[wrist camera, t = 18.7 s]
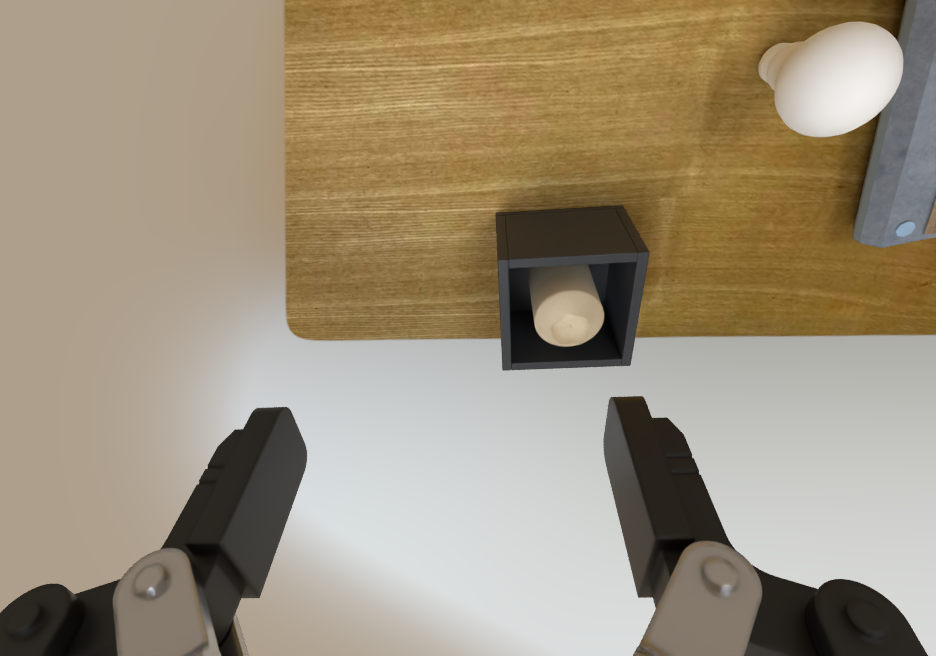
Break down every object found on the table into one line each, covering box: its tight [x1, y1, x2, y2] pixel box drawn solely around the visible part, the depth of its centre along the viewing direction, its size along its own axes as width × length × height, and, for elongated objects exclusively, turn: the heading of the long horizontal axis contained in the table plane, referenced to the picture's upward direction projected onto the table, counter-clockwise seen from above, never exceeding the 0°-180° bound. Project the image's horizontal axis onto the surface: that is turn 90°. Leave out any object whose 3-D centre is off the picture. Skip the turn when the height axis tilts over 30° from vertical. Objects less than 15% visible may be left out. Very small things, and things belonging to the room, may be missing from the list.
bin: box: [496, 206, 649, 370], centre depth 42 cm, size 11×11×9 cm
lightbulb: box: [758, 22, 904, 137], centre depth 31 cm, size 6×6×11 cm
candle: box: [527, 264, 604, 347], centre depth 41 cm, size 6×6×10 cm
